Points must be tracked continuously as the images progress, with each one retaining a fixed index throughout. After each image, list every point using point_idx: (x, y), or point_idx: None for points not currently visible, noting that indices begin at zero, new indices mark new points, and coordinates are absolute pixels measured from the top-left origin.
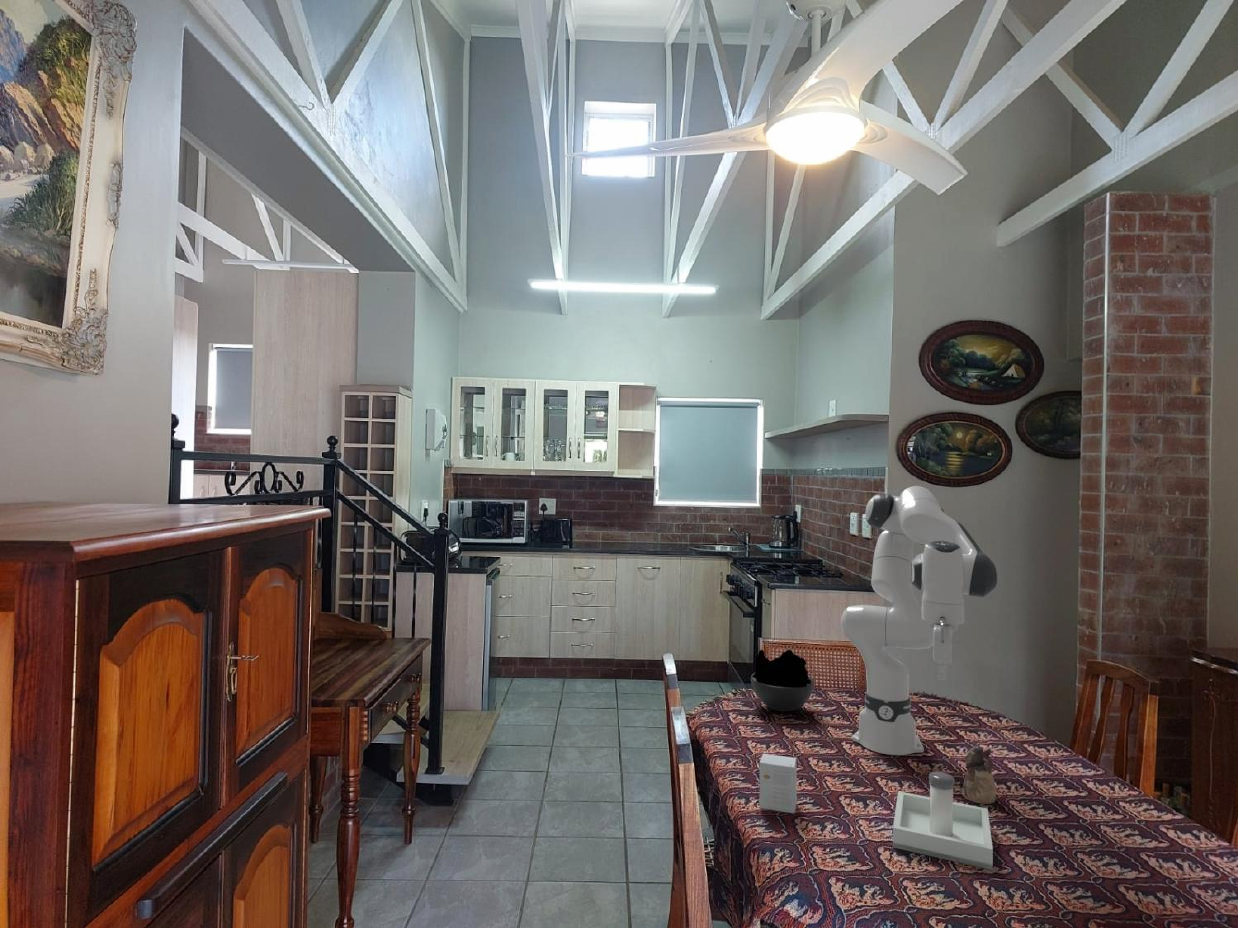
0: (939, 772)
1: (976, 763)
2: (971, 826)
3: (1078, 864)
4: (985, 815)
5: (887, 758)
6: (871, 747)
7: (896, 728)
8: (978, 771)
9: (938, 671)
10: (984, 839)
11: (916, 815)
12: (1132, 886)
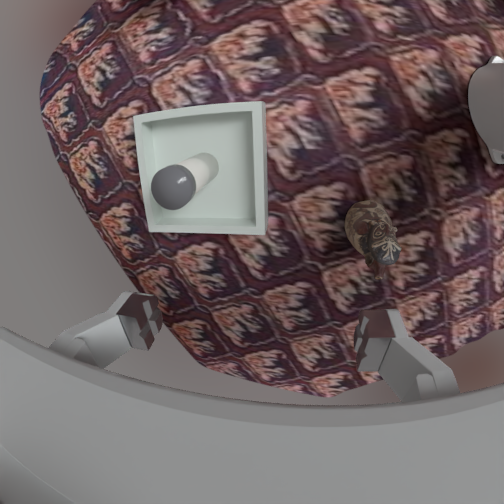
0: (187, 184)
1: (368, 242)
2: (243, 205)
3: (224, 301)
4: (239, 230)
5: (456, 97)
6: (475, 76)
7: (501, 120)
8: (359, 240)
9: (98, 316)
10: (175, 223)
11: (238, 131)
12: (208, 330)
